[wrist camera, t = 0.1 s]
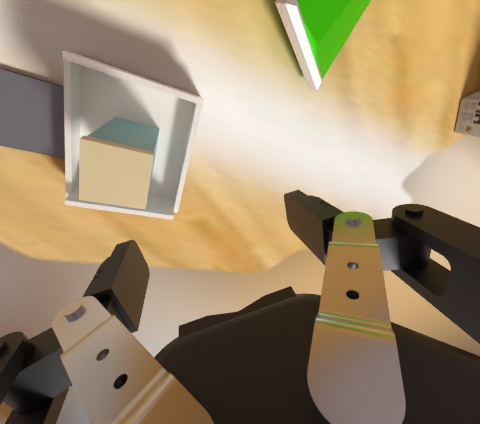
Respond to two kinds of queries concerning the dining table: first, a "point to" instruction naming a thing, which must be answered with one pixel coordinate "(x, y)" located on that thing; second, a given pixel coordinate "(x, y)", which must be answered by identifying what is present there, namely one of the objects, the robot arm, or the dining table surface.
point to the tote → (134, 109)
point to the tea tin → (117, 163)
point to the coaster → (31, 114)
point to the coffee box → (469, 115)
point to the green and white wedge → (318, 31)
